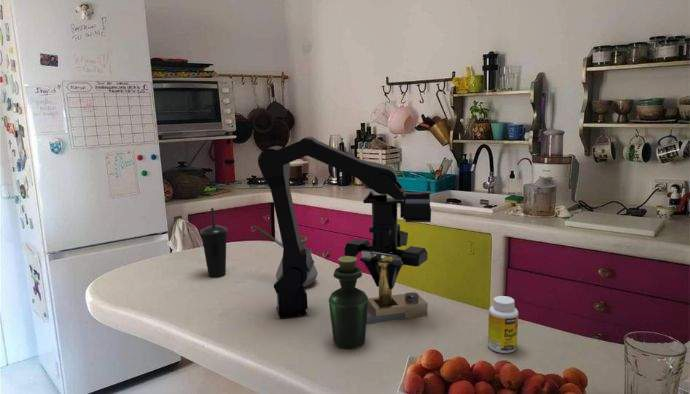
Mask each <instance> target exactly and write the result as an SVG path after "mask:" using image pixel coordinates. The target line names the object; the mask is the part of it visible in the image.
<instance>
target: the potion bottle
mask: <svg viewBox="0 0 690 394" xmlns="http://www.w3.org/2000/svg"><path fill="white" fill-rule="evenodd" d="M357 260H358V258H357V256H355V257H352V256H345V255H344V256H340V257H338V258H337V263H338V266H339V267H336V268H335V269H334V273H333V277H334V278H335V279H337V280H338V282H339V285H340V287H339V288H338V289H336V290H334V291H332V292H331V294H330V295H329V298H328V306H329V314H330V323H331V329H332V337H333V339H332V340H333V343H334V345H335V346H337V347H338V348H341V349H344V350H345V349H346V350H352V349H353V350H354V349H358V348H360V347H362V346H364V344H365V342H366V336H367V335H366V334H367V324H366V323H367V310H368V298H369V297H368V295H367V293H366V292H365V291H364V290H361V289H360V288H357V287H356V284H357V281H358V279H360V278H362V277H363V273H362V270H361V268H359V267H358V266H357Z"/></svg>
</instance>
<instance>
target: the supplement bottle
mask: <svg viewBox="0 0 690 394" xmlns="http://www.w3.org/2000/svg"><path fill="white" fill-rule="evenodd" d="M492 301H493V302H492V305H491V306H490V307H489V309H488V327H487V328H488V330H487V345H488V347H489V349H491V350H492V351H494V352H495V353H496V352H497V353H501V354H509V353H513V352H514V351H516V349H517V347H518V327H519V325H518V323H519V311H518V309H517V307H515V306H516V304H515V299H514V298H512V297H511V296H505V295H498V296H495V297H494V298H493V300H492Z"/></svg>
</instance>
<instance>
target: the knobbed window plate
mask: <svg viewBox="0 0 690 394" xmlns="http://www.w3.org/2000/svg"><path fill="white" fill-rule="evenodd" d="M428 304H429V303H428V302H427V301H426V300H425V299H424V298H423V297H422V296H421V295H419V293H417V292H409V291H408V292H406V293H401V294H400V293H399V294H392V302H391V303H390V304H381V303H379V296H377V297H368V310H367V323H366V325H367V324H368V325H369V324H376V323H382V322H389V321H390V322H391V321H397V320H404V319H410V318H417V317H419V318H420V317H425V316H426V317H428V314H429V313H428V311H429V309H428V306H429V305H428Z"/></svg>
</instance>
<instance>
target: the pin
mask: <svg viewBox="0 0 690 394" xmlns="http://www.w3.org/2000/svg"><path fill="white" fill-rule="evenodd" d="M392 261H393V259H392V258H391V257H390V258H389V257H381V258H379V259H377V260H376V265H377V266H378V267H379V287H378V297H379V303H381V304H390V303H391V302H392V295H393V294H392V293H393V291H392V290H393V289H390V287H389V274H388V263H390V262H392Z"/></svg>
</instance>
